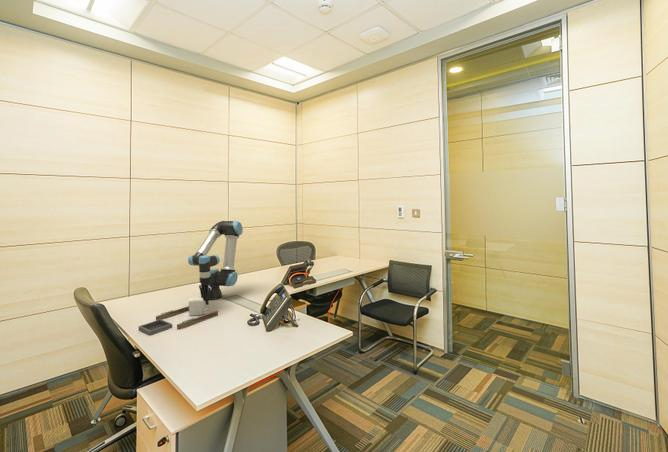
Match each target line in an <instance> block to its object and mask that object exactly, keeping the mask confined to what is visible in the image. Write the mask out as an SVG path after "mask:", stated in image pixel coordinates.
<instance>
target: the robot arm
mask: <svg viewBox="0 0 668 452" xmlns="http://www.w3.org/2000/svg"><path fill="white" fill-rule="evenodd" d="M243 229H244V228H243V225H242V223H241V221H238V220H221V221H219V222H217V223H214V224H213V226H212V227H211V228H210V229H209V231H208V234H207V235H206V238H205V239H204V240H203V242H202V243H201V244H200V246H199V247H198V249H197V250H196V252H195V254H194V255H193V254H192V255H189V257H188V258H187V262H188V264H189V265H190V266H193V267H194V266H196V267H197V266H198V273H199V274H198V275H199V283H200V285H198V288H199V291H200V298H203V300H204V310H208V309H210V307H209V302H210V301H215V300H219V299H221V298H222V297H223V292H222V290H221V288H220V287H233V286H234V285H235V284H237V282H238V277H239V276H238V273H237V272H236V269H235V262H236V261H235V259H236V252H237V241H238V239H239V238H240V236H241V235H242V234H243V232H244V231H243ZM223 235H224V238H225V246H224V253H223V254H224V255H223V263H222V264H223V265H222V267H221V268H220V270H219V268H213V267H214V266H217V265H219V264H220V262H221V261H220V260H221V259H220V256H218V255H216V254H215V255H208V254H209V252H210V250H211V249H212V247H213V246H214V244H215V243H216V241H217V240H218V238H220V237H221V236H223ZM211 267H212V269H211Z"/></svg>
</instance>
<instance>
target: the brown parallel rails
mask: <svg viewBox="0 0 668 452" xmlns="http://www.w3.org/2000/svg"><path fill="white" fill-rule="evenodd" d="M186 312H189V305H188V306H185V307H182V308H178V309H176V310H168V311H165V312H162V313H160V314H158V315H155V321H157V320H160V319H161V320H164V319H165V320H166V319H168V318H170V317H174V316H176V315H177V316H178V315H180V314H183V313H186ZM216 316H219V310H215V311H212V312H208V313H206V314H204V315H199V316H197V317H192V318H189V319H185V320H182V321H181V322H180V323H177V324H176V330H178V329H179V330H181V328H182V329H184V328H187V327H190V326H192V325H196V324H198V323H200V322H203V321H206V320H208V319H211V318H214V317H216Z"/></svg>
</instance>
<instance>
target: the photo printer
mask: <svg viewBox="0 0 668 452" xmlns="http://www.w3.org/2000/svg"><path fill="white" fill-rule="evenodd" d="M188 306H189V311H188V315H189V316H190V317H193V316H203V315H206V314H205V309H204V300H203V298H201V297H191V298H189V299H188Z"/></svg>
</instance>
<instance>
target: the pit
mask: <svg viewBox="0 0 668 452" xmlns="http://www.w3.org/2000/svg"><path fill="white" fill-rule="evenodd" d="M137 328H138V331H140V332H142V333H144V334H147V335H148V336H153V335H155V334H159V333H161V332H164V331H166V330H170V329H172V328H173V323H171V322H169V321H167V320H166V321H165V320H164V319H162V320H161V319H160V320H157V321H156V320H154V321H151V322H148V323H144V324H142V325H138V327H137ZM169 328H170V329H169Z"/></svg>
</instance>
